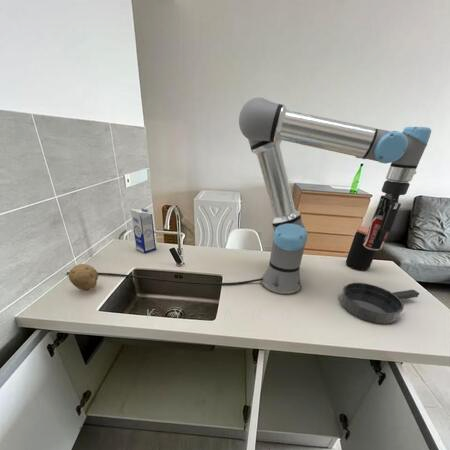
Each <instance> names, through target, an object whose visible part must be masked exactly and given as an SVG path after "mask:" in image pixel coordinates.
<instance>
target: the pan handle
mask: <svg viewBox="0 0 450 450" xmlns="http://www.w3.org/2000/svg"><path fill="white" fill-rule="evenodd" d="M392 293H393V294H394V295H396V296H397V297H398V298H399V299H400V300H401V301H403V300H407V299H408V300H409V299H413V298H415V299H416V298H418V297H419V295H420V292H419V291H416V290H415V289H407V290H400V291H393V292H392ZM387 297H389V298H390V299H391V300H393V299H394V296H392V295H391V294H389V295H388V296H387ZM391 297H393V298H391Z"/></svg>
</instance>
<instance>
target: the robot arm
mask: <svg viewBox="0 0 450 450" xmlns="http://www.w3.org/2000/svg"><path fill="white" fill-rule="evenodd" d="M238 125H239V126H238V127H239V129H240V132H241V134H242V135H243V136H244V138H246V139H247V140H248V143H249V147H250V151H251V152H252V154H254V155H256V156H257V160H258V164H259V168H260V171H261V174H262V178H263V180H264V186H265V189H266V193H267V196H268V200H269V203H270V204H269V205H270V207H271V211H272V215H273V217H272V220H271V225H272V228H273V235H272V245H271V252H270V256H269V257H270V258H269V263H268V266H267V268H266V269H265V271H264V273H263V275H262V277H261V278H255V279H250V280H244V281H234V282H207V281H206V282H205V281H203V282H202V281H187V280H178V279H168V278H158V277H151V276H142V275H134V274H125V273H112V272H97V273H98V276H100V275H101V276H114V277H115V276H116V277H125V278H126V277H127V278H135V279H144V280H150V281H151V280H153V281H160V282H168V283H169V282H170V283H177V284H179V283H180V284H191V285H209V286H210V285H211V286H232V285H233V286H234V285H242V284H250V283H254V282H261V284H262V286H263V287H264V288H265V289H266V290H268V291H270V292H272V293H275V294H279V295H292V294H295V293H297V292H299V290H300V288H301V283H302V282H301V273H300V268H301V265H302V259H303V255H304V252H305V247H306V244H307V240H308V232H307V230H306V227H305V225H304V222H303V221H302V215H301V213H300V211H299V210H296V208H295V203H294V199H293V194H292V191H291V186H290V182H289V179H288V174H287V169H286V166H285V161H284V157H283V152H282V149H281V144H282V143H283V141H284V142H288V143H293V144H299V145H301V146H307V147H311V148H315V149H320V150H325V151H329V152H334V153H338V154H343V155H347V156H352V157H355V158H356V159H361V160H369V161H374V162H378V163H380V164H390V166H389V167H388V171H387V173H386V176H385V181H384V182H383V185H382V188H381V192H382V193H383V194H384V195H380V198H379V201H378V204H377V206H376V208H375V211H374V214H373V216H372V219H371V221H372V220H373V219H374V218H375V216H376V215H382V216H383V218H382V222H381V226H380V230H377V234H376V237H375V239H374V242H373V244H372V248H376V249H380V247H381V245H382V242H383V240H384V237H385V235H386V233H387V232H389V233H390V232H391V231H392V227H393V225H394V223H395V220H396V217H397V214H398V212H399V210H400V208H401V205H402V203H401V202H399V199H400V196H405V195H407V192H408V190H409V188H410V186H411V183H410V182H412V180H413V178H414V175H416V174H417V168H418V165H419V164H420V161H421V159H422V156H423V155H424V152H425V150H426V148H427V146H428V143H429V140H430V138H431V134H432V128H430V127H428V126H406V127H404V128H403V130H402V132H400V131H398V130H392V131H390V130H386V129H381V128H375V127H371V126H366V125H362V124H357V123H352V122H346V121H342V120H336V119H332V118H329V117H328V118H327V117H323V116H318V115H313V114H307V113H303V112H299V111H293V110H288V109H287V106H286V105H285V104H282V103H278V102H273V101H270V100H269V99H266V98H264V97H253V98H250V99H249V100H247V101H246V102H245V103H244V104H243V106H242V108H241V110H240V112H239V115H238ZM380 250H381V249H380ZM69 272H70V271H67V272H66V275H69Z"/></svg>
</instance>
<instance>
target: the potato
mask: <svg viewBox="0 0 450 450" xmlns="http://www.w3.org/2000/svg"><path fill="white" fill-rule="evenodd" d="M68 272H69V274H68V280H69V282H70V283H71V284H72V285H73V286H74V287H75V288H76V289H78V290H81V291H83V292H84V291H85V292H86V291H90V290H92V289H94V288H95V287H96V286H97V284H98V279H99V275H98V273H99V272H98V270H96V269H95V268H94V267H93V266H92V265H89V264H86V263H79V264H75V265H74V266H73V267H72V268H71V269H70V270H69V271H68Z"/></svg>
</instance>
